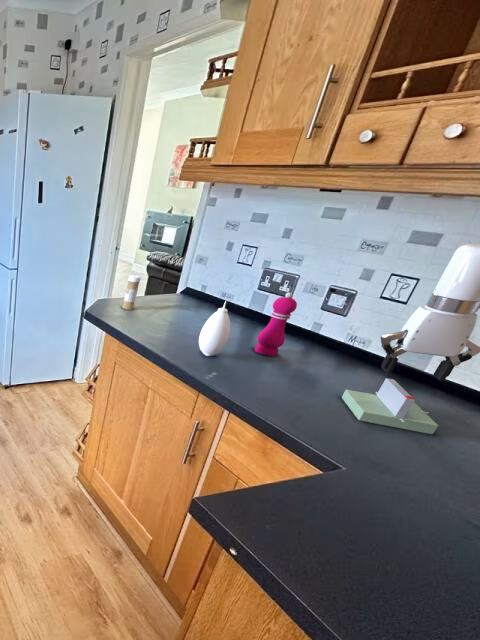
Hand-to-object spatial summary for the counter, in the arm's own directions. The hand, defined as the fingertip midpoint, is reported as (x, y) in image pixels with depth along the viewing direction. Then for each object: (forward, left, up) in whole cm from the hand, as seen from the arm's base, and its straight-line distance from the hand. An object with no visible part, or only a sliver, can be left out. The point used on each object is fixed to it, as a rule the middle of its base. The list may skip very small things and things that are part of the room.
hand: (411, 374), depth 97 cm
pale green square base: (+1, 0, -12) cm, 11 cm away
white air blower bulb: (+39, -21, -12) cm, 45 cm away
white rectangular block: (+1, 0, -9) cm, 9 cm away
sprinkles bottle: (+66, -59, -12) cm, 89 cm away
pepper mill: (+21, -32, -12) cm, 40 cm away
